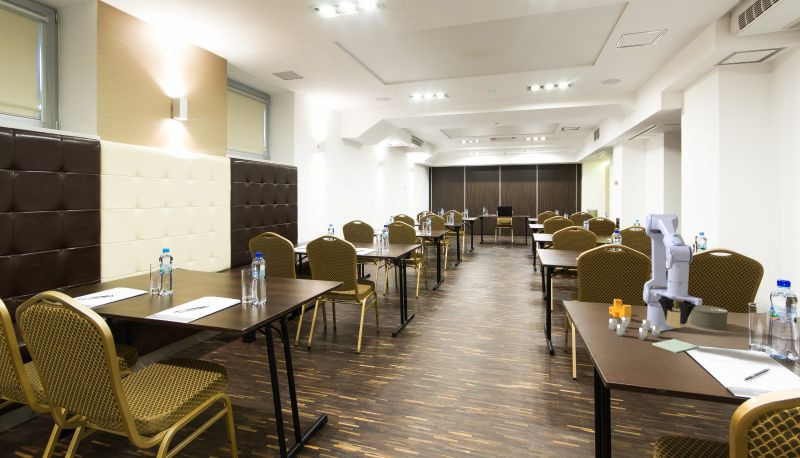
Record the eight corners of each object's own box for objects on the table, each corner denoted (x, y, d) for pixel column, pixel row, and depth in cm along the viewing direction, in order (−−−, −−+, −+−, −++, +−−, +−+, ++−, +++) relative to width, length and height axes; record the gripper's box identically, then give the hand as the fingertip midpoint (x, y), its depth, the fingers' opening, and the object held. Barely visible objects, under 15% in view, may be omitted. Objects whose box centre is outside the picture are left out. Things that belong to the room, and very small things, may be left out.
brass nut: (673, 323, 139) (674, 308, 139) (686, 326, 135) (687, 311, 135) (663, 324, 137) (664, 310, 137) (677, 328, 133) (678, 313, 133)
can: (688, 319, 168) (689, 303, 168) (725, 324, 162) (726, 307, 161) (689, 326, 159) (690, 309, 158) (728, 332, 152) (729, 314, 151)
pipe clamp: (609, 313, 178) (609, 299, 177) (619, 313, 177) (620, 299, 176) (619, 321, 166) (620, 305, 165) (630, 321, 165) (631, 306, 165)
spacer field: (630, 324, 160) (631, 314, 160) (668, 336, 147) (668, 325, 146) (600, 330, 153) (601, 319, 153) (637, 342, 140) (637, 330, 140)
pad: (674, 340, 142) (674, 339, 142) (698, 347, 135) (698, 346, 135) (651, 344, 138) (651, 343, 138) (675, 352, 130) (675, 351, 130)
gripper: (648, 278, 140) (647, 317, 141) (693, 286, 127) (691, 329, 128) (662, 277, 143) (660, 315, 144) (707, 284, 130) (704, 326, 131)
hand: (675, 321), depth 136 cm, fingers closed on brass nut, 4 cm apart
